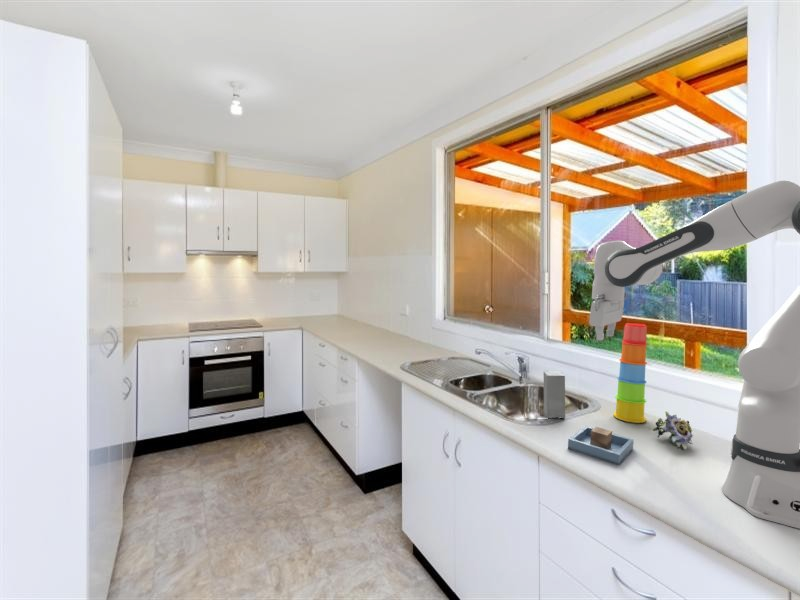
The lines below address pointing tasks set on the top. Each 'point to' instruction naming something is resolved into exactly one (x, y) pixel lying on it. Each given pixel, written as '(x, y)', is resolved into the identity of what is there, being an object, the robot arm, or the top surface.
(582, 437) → the sorting tray
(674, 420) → the passion flower
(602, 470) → the top surface
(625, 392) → the stacking cups
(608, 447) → the walnut block
